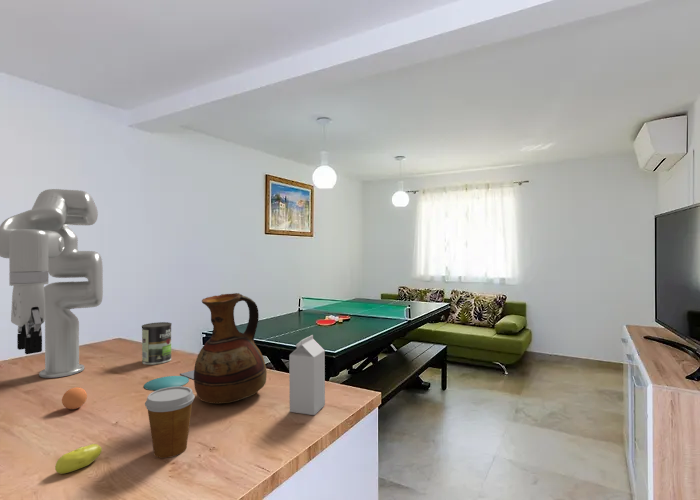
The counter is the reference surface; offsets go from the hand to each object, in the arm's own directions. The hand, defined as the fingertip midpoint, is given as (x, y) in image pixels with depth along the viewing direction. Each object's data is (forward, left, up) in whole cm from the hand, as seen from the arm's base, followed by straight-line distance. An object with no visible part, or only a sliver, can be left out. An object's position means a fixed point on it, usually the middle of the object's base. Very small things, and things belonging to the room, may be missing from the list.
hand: (29, 350), depth 96 cm
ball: (0, +10, -15) cm, 18 cm away
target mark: (0, +35, -18) cm, 39 cm away
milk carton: (+50, +48, -18) cm, 71 cm away
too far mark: (0, +47, -18) cm, 50 cm away
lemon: (+34, +1, -18) cm, 38 cm away
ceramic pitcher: (+26, +41, -18) cm, 51 cm away
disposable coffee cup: (+42, +15, -18) cm, 48 cm away
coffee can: (-28, +45, -18) cm, 56 cm away
